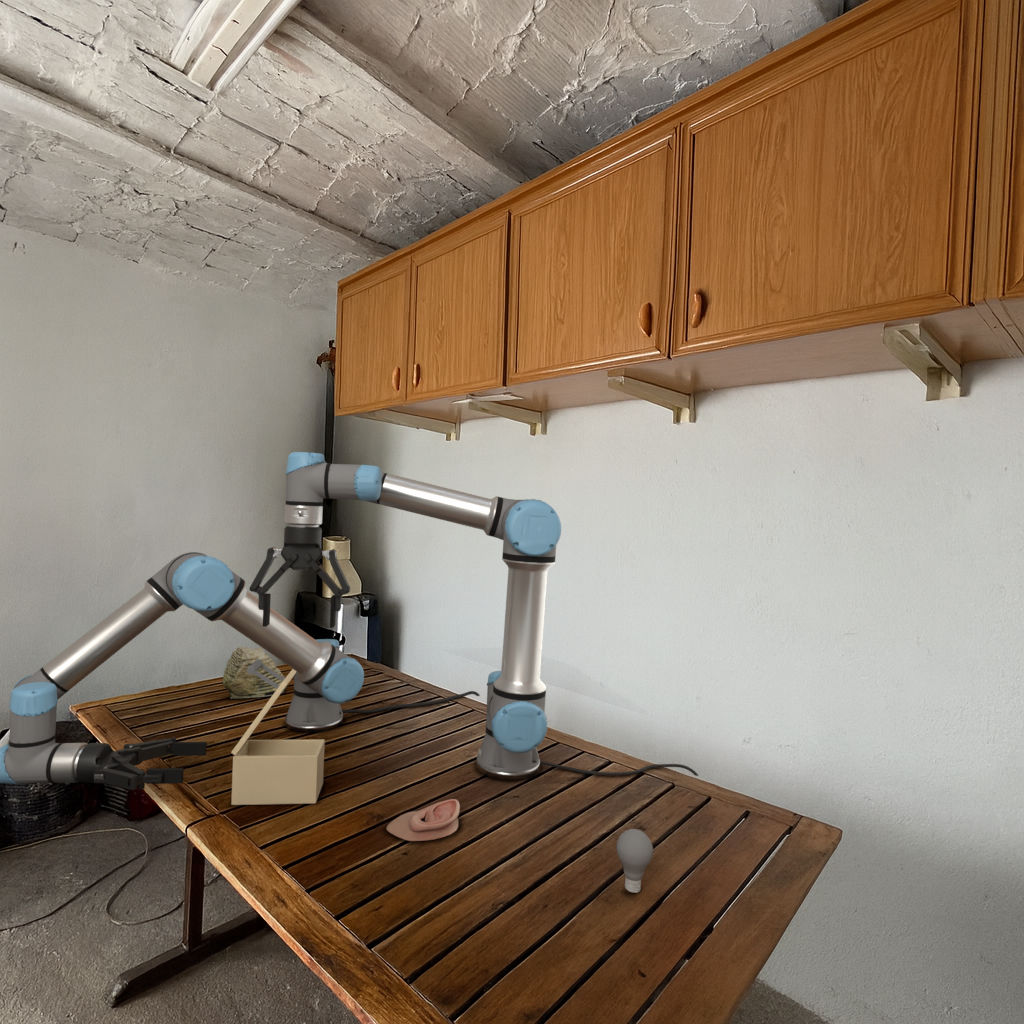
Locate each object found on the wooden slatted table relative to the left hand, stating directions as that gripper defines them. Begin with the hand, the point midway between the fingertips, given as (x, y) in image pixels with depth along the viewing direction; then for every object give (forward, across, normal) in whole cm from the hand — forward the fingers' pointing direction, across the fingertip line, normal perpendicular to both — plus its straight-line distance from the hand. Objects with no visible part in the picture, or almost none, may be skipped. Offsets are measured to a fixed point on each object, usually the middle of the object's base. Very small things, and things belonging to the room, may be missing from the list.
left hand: (195, 761), depth 132 cm
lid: (+14, 0, +10) cm, 17 cm away
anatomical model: (+47, +16, -7) cm, 50 cm away
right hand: (+20, 0, +29) cm, 35 cm away
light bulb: (+82, +38, -7) cm, 91 cm away
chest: (+17, 0, -7) cm, 18 cm away
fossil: (-5, -68, -7) cm, 68 cm away
